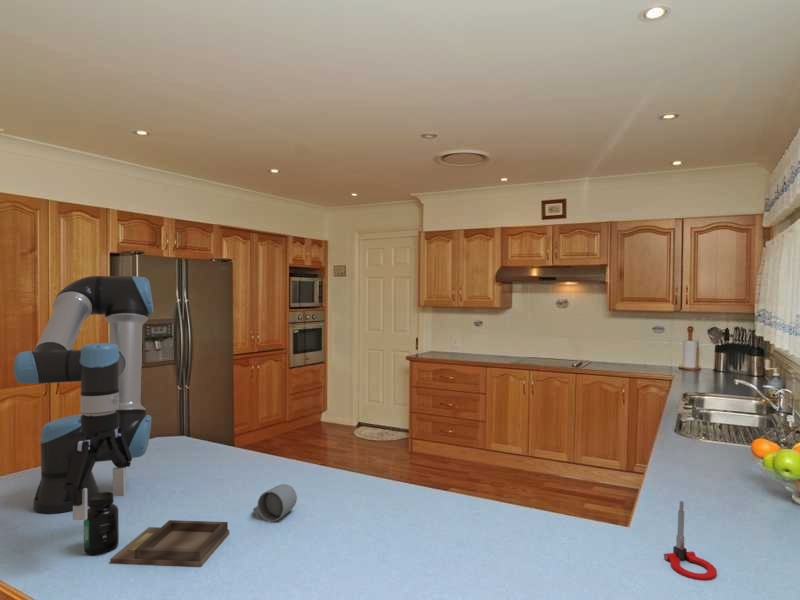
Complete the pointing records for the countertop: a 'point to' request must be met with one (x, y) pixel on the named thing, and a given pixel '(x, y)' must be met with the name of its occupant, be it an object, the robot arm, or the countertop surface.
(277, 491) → the ceramic mug
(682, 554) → the tow hook
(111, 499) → the supplement bottle
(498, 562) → the countertop surface
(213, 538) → the framed wooden board
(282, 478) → the countertop surface
